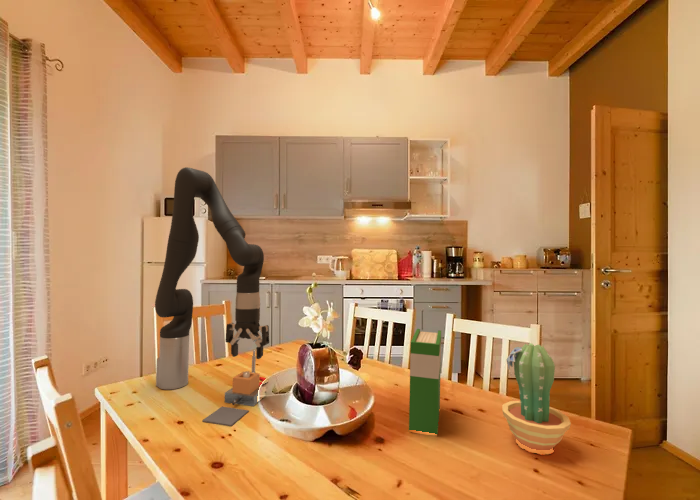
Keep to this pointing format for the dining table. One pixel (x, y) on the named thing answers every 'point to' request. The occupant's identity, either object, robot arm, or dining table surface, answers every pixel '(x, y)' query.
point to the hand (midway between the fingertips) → (247, 357)
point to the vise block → (242, 395)
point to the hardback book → (425, 381)
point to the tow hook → (254, 367)
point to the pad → (225, 416)
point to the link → (245, 383)
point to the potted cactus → (534, 400)
